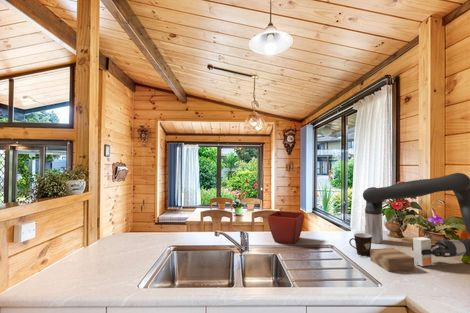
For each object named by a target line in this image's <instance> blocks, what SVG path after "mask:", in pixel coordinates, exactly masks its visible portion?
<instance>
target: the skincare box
mask: <svg viewBox="0 0 470 313" xmlns="http://www.w3.org/2000/svg"><path fill="white" fill-rule="evenodd" d="M431 244H432V240H431V238H429V237H428V238H427V237H424V236H420V237H414V238H412V246H413V250H414V251H413V250H412V251H413V258H414V265H415V264H416V265H418V266H420V267H427V266H432V264H433V263H432V255H422V254H421V250H427V249H429V250H430V249H431Z"/></svg>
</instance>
